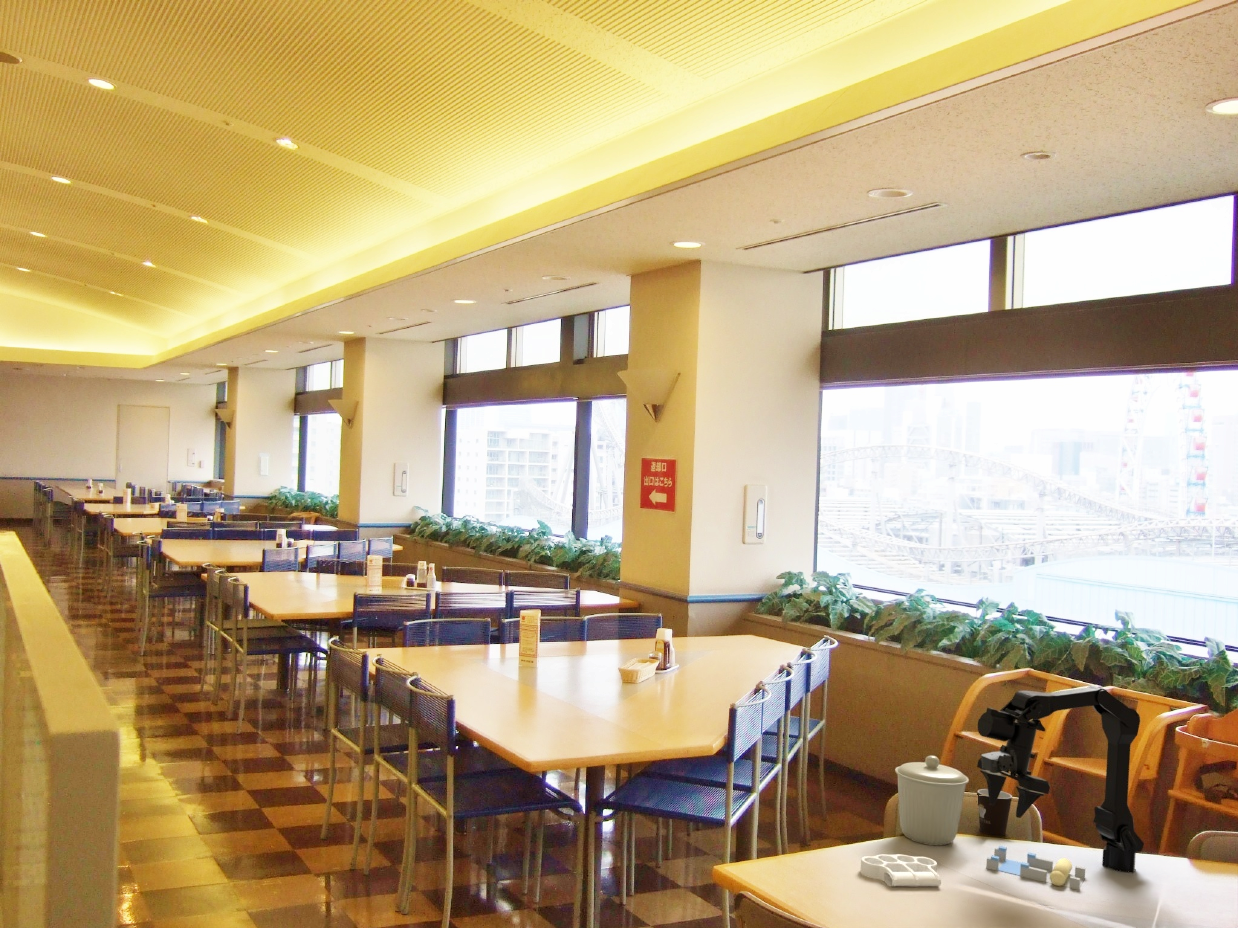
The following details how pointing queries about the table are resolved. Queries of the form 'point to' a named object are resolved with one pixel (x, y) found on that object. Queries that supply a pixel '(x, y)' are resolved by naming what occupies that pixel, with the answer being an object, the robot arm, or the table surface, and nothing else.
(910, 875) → the white brass knuckles
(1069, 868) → the cream capsule cylinder
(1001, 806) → the coffee mug
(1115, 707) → the robot arm
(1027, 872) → the toy block layout
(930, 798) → the canister
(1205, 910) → the table surface
